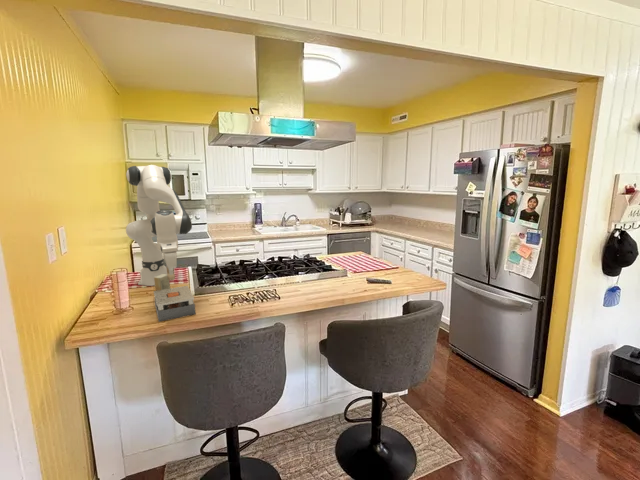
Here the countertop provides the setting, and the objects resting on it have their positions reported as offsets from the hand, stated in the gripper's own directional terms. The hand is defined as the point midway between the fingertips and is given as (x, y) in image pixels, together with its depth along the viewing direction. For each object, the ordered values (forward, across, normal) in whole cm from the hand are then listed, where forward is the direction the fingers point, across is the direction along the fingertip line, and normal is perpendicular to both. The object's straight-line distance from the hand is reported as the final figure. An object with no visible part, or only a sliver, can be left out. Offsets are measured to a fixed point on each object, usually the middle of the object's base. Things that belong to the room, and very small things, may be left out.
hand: (170, 273), depth 163 cm
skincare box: (+19, -22, -3) cm, 29 cm away
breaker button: (+14, 0, 0) cm, 14 cm away
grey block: (+3, 0, 0) cm, 3 cm away
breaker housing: (+19, 0, 0) cm, 19 cm away
